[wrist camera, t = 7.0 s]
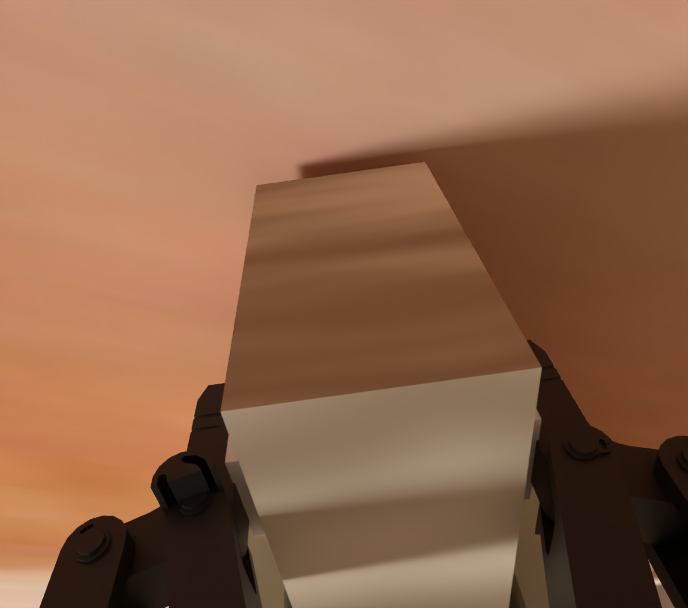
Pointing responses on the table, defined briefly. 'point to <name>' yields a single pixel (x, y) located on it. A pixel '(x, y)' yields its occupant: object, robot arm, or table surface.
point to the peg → (379, 396)
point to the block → (526, 585)
